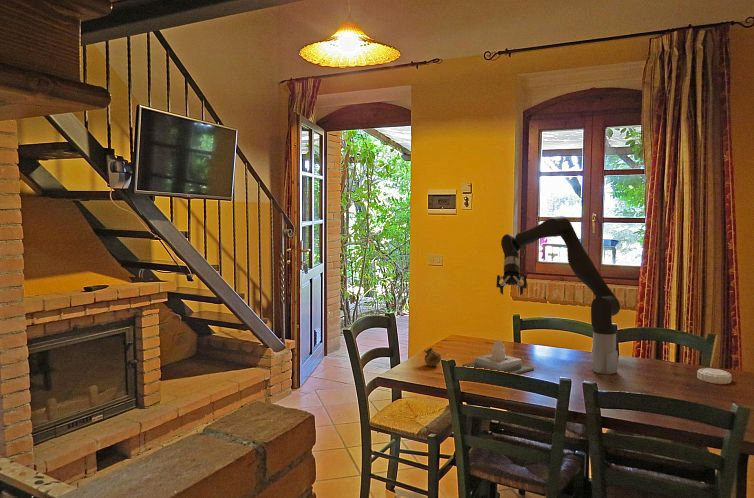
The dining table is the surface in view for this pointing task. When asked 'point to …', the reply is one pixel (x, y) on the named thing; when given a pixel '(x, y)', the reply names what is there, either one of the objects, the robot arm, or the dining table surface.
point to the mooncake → (714, 375)
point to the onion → (432, 357)
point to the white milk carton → (498, 351)
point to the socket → (500, 364)
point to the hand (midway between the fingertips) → (511, 293)
